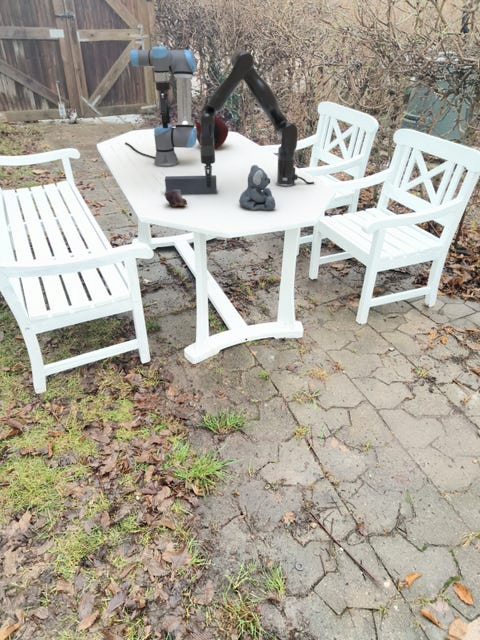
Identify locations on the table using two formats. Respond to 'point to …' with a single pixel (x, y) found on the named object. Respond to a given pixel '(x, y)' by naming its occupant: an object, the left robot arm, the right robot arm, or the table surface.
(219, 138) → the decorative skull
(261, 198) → the koala plush
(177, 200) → the rock
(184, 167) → the table surface
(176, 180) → the bar
